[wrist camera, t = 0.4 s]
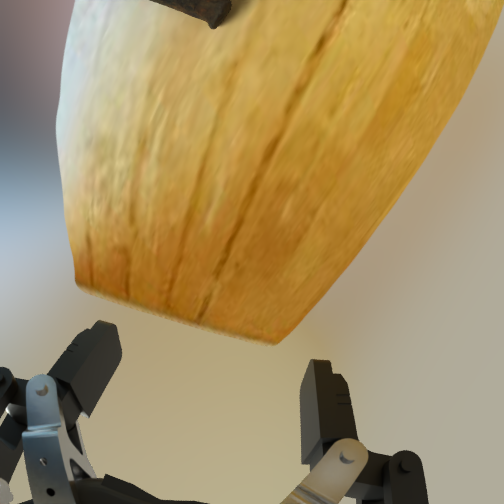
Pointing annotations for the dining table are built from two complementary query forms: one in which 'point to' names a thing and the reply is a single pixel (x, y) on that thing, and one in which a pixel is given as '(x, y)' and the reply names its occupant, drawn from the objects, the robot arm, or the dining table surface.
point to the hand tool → (201, 9)
